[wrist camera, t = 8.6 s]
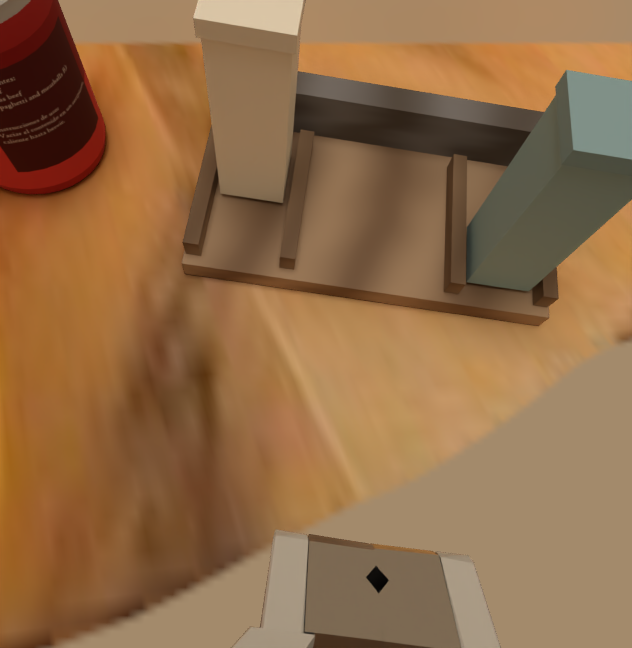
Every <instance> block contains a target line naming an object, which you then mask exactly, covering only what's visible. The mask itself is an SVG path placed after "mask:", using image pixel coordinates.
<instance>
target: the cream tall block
mask: <svg viewBox="0 0 632 648" xmlns="http://www.w3.org/2000/svg"><path fill="white" fill-rule="evenodd" d="M305 1H306V0H198V3H197V7H196V10H195V14H194V17H193V20H194V28H195V35H196V37H197V38H201V42H202V50H203V58H204V66H205V74H206V82H207V90H208V98H209V106H210V114H211V122H212V130H213V138H214V146H215V154H216V162H217V169H218V177H219V185H220V193H221V194H228V195H234V196H241V197H247V198H254V199H260V200H266V201H273V202H279V203H283V200H284V194H285V189H286V183H287V177H288V171H289V165H290V159H291V152H292V139H293V126H294V113H295V100H296V87H297V74H298V60H299V47H300V34H301V23H302V17H303V12H304V6H305Z"/></svg>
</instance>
